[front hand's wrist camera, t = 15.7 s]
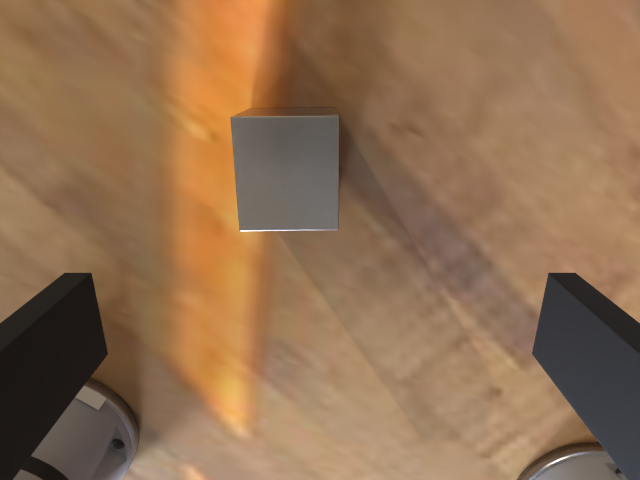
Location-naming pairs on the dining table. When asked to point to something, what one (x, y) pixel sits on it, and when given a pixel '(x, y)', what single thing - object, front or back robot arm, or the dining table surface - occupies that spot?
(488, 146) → the dining table surface
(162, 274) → the dining table surface
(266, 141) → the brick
